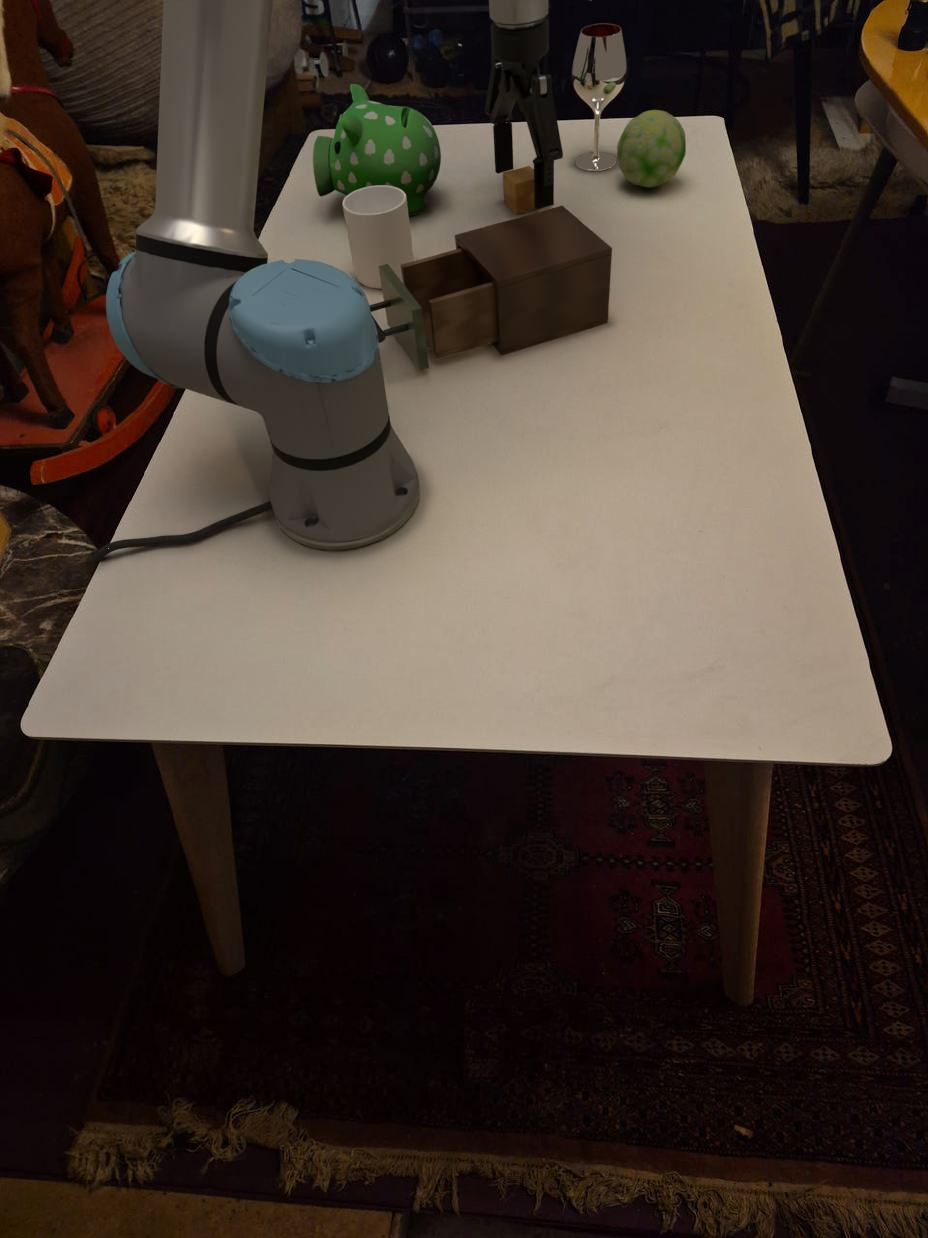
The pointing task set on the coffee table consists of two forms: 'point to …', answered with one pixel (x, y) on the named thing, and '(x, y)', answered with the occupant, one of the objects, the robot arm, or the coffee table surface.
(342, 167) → the piggy bank
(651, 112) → the decorative ball
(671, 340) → the coffee table surface
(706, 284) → the coffee table surface
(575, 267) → the cabinet
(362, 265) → the cup
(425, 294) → the drawer
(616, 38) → the wineglass
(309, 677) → the coffee table surface
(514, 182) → the block
